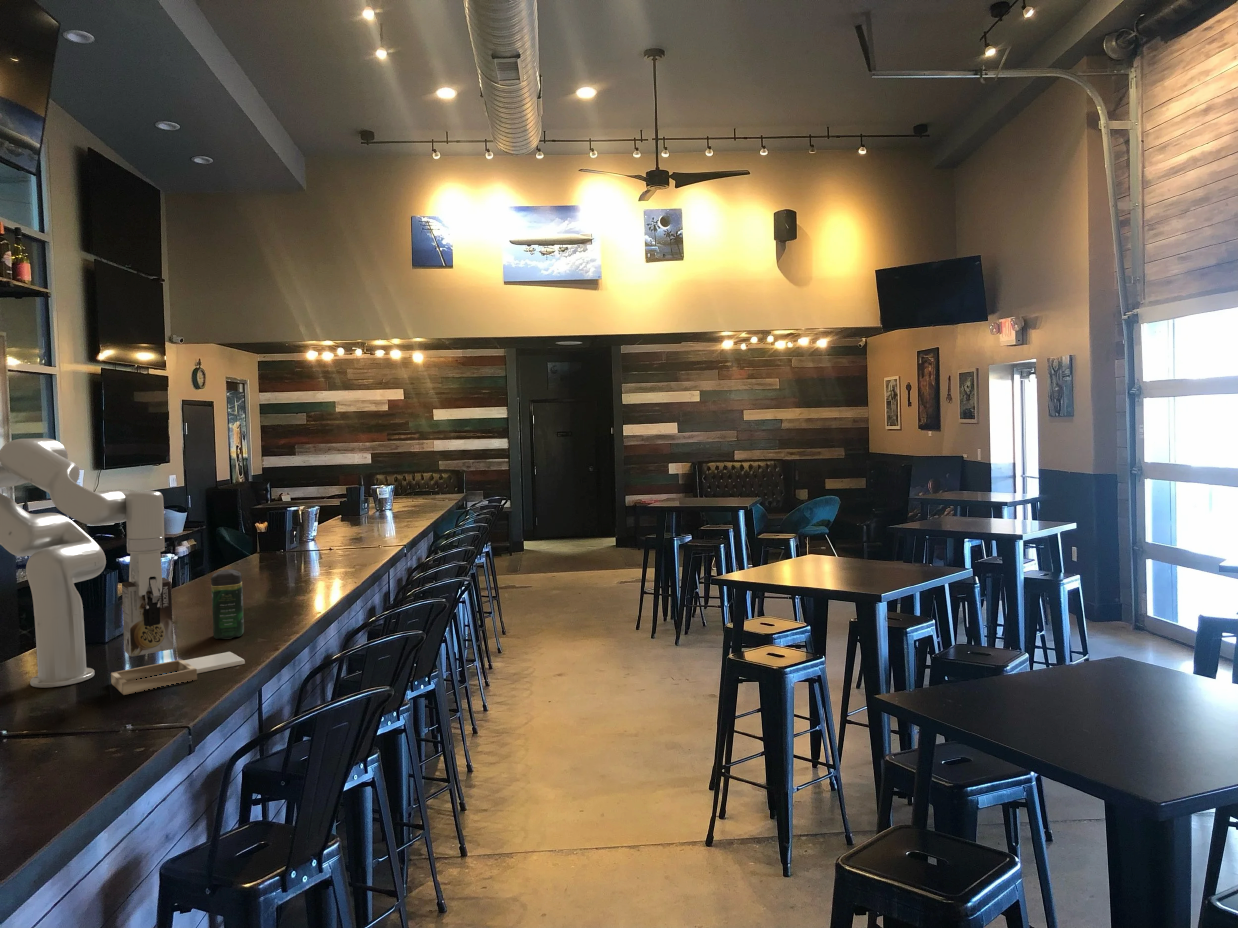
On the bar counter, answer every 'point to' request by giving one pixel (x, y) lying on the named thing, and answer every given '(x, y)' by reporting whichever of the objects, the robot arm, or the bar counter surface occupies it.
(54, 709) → the bar counter surface
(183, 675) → the holder frame
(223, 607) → the coffee jar
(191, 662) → the tile
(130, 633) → the coffee box
